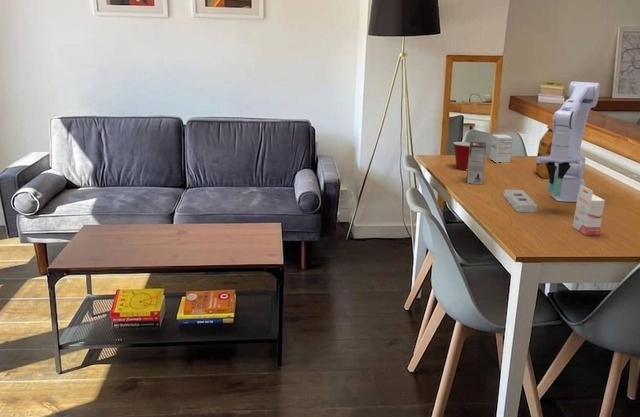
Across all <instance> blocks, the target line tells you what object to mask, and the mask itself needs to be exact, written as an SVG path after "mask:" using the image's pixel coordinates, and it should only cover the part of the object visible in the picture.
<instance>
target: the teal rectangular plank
mask: <svg viewBox="0 0 640 417" xmlns="http://www.w3.org/2000/svg"><path fill="white" fill-rule="evenodd" d="M562 181H563V180H562V179H561V178H560V177H558V176H557V175H556V174H555V175H554V182H553V184H551V183H549V180H548V182H547V187H546V188H547V191H548V192H550V193H552V195H553V196H557V197H560V194H561V187H562Z"/></svg>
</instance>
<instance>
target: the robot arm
mask: <svg viewBox="0 0 640 417" xmlns="http://www.w3.org/2000/svg"><path fill="white" fill-rule="evenodd" d="M600 90H601V85H600V83H599V82H589V81H575V80H573V81H571V82H570V83H569V87H568V92H567V95H568V99H566V100H565V101H564V102H563V104H562V106H561V107H560V109H558V110H557V111H556V110H555V111H554V114H553V117H552V125H553V129H552V131H553V138H552V145H551V153H550V156H543V157H537V156H536V159H535V163H536V162H537V163H545V164H546V167H547V170H548V174H549V179H548V181H549V183H551V184H553V182H554V175H555V174H557V176H558V177H560V178H561V179H562V180H563V181H562V187H561V194H560V197H557V196H553V195H552V194H553V193H552V194H550V196H551V197H552V198H553V199H554V200H556V202H565V203H566V202H567V203H568V202H572V203H573V202H574V203H577V197H578V193H579V189H580V185H583V186H585V187H586V185H585V179H584V177H583V175H584V173H585V166H586V157H585V155H584V154H583V153H581V151H580V150H581V146H582V143H583V142H582V141H583V137H584V133H585V129H586V125H587V120H588V116H589V114H590V111H591V109H592V108H595V107H596V106H597V104H598V100H599V98H600V97H599V96H600Z"/></svg>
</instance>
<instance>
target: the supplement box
mask: <svg viewBox="0 0 640 417" xmlns="http://www.w3.org/2000/svg"><path fill="white" fill-rule="evenodd" d="M491 136H492V137H491V145H490V146H491V147H490V155H489V160H490V159H491V160H493V161H494V162H510V163H511V154H512V146H513V139H514V138H513V137H512V136H510V135H508V134H492V135H491ZM491 160H490V161H491ZM493 161H492V162H493ZM494 162H493V163H494Z"/></svg>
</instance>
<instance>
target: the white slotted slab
mask: <svg viewBox="0 0 640 417" xmlns="http://www.w3.org/2000/svg"><path fill="white" fill-rule="evenodd" d="M503 197H504V198H505V199H506V200H507V202H508V203H509V204H510V206H512V208H513V209H514V211H516V212H518V213H538V209H539V208H538V206H539V205H538V204H537V203H536V202H535V201H534V200H533V199H532V198H531V197H530V196H529V195H528V194H527V193H526V192H525V190H523V189H503Z"/></svg>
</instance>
